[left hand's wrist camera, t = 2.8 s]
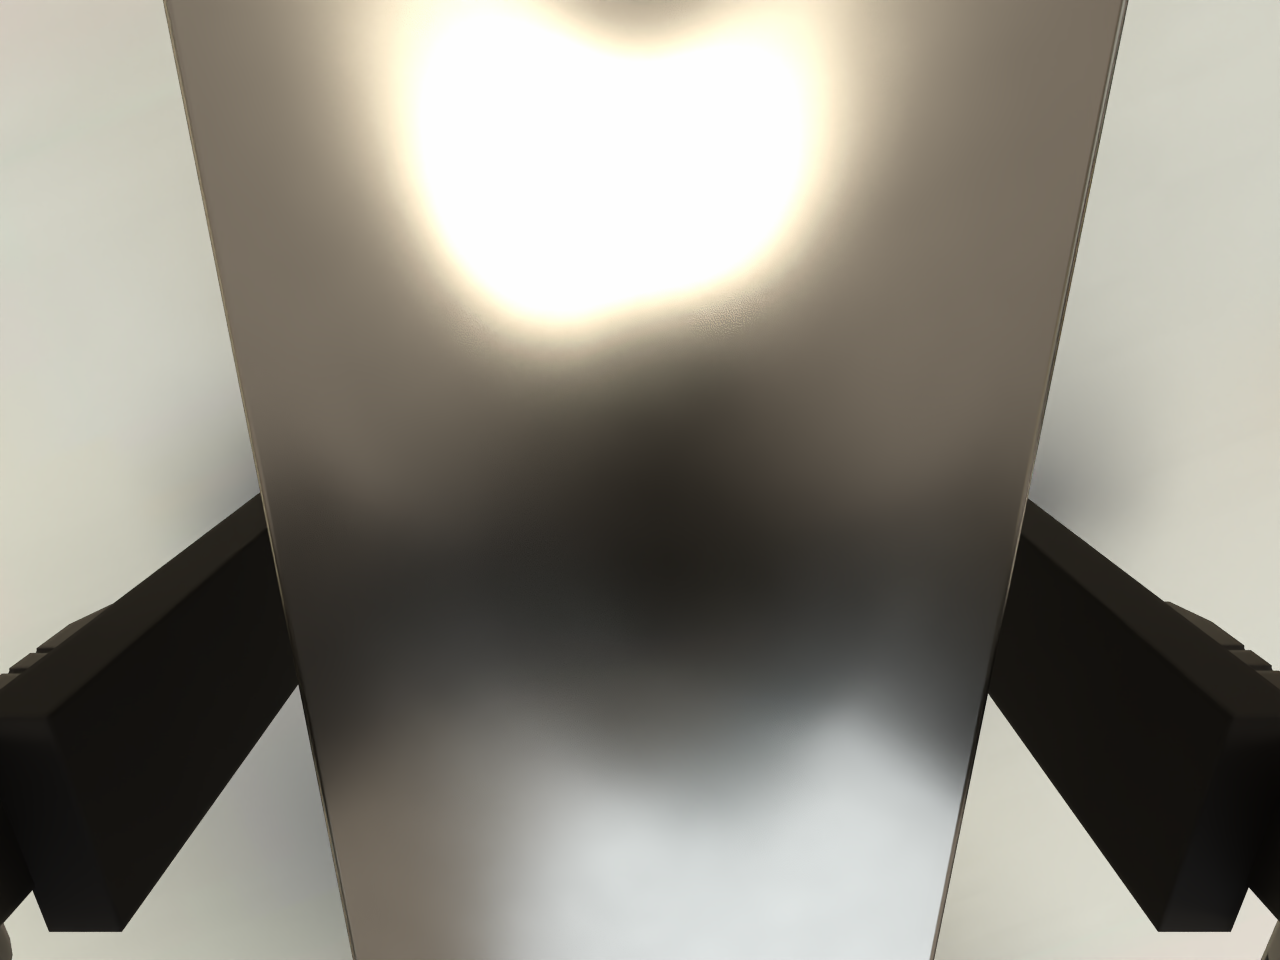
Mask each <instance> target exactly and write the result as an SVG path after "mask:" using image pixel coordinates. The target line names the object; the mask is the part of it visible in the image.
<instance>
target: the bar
mask: <svg viewBox="0 0 1280 960" xmlns="http://www.w3.org/2000/svg"><path fill="white" fill-rule="evenodd" d="M163 3H164V8H165V13H166V18H167V23H168V28H169V33H170V38H171V43H172V48H173V53H174V58H175V64H176V69H177V74H178V79H179V84H180V89H181V94H182V99H183V104H184V109H185V114H186V119H187V124H188V129H189V134H190V139H191V144H192V149H193V154H194V159H195V165H196V170H197V175H198V180H199V185H200V190H201V195H202V200H203V205H204V210H205V215H206V220H207V225H208V230H209V235H210V240H211V245H212V250H213V255H214V260H215V265H216V271H217V276H218V281H219V286H220V291H221V296H222V301H223V306H224V311H225V316H226V321H227V326H228V331H229V336H230V341H231V346H232V351H233V356H234V361H235V366H236V372H237V377H238V382H239V387H240V392H241V397H242V402H243V407H244V412H245V417H246V422H247V427H248V432H249V437H250V442H251V447H252V452H253V457H254V462H255V467H256V473H257V478H258V483H259V488H260V493H261V498H262V503H263V508H264V513H265V518H266V523H267V528H268V533H269V538H270V543H271V548H272V553H273V558H274V563H275V568H276V573H277V579H278V584H279V589H280V594H281V599H282V604H283V609H284V614H285V619H286V624H287V629H288V634H289V639H290V644H291V649H292V654H293V659H294V664H295V669H296V674H297V680H298V685H299V690H300V695H301V700H302V705H303V710H304V715H305V720H306V725H307V730H308V735H309V740H310V745H311V750H312V755H313V760H314V765H315V770H316V775H317V780H318V786H319V791H320V796H321V801H322V806H323V811H324V816H325V821H326V826H327V831H328V836H329V841H330V846H331V851H332V856H333V861H334V866H335V871H336V876H337V881H338V887H339V892H340V897H341V902H342V907H343V912H344V917H345V922H346V927H347V932H348V937H349V942H350V947H351V952H352V957H353V960H934V957H935V952H936V947H937V942H938V937H939V932H940V927H941V922H942V918H943V913H944V908H945V903H946V898H947V893H948V888H949V883H950V878H951V873H952V868H953V863H954V858H955V853H956V848H957V844H958V839H959V834H960V829H961V824H962V819H963V814H964V809H965V804H966V799H967V794H968V789H969V784H970V779H971V775H972V770H973V765H974V760H975V755H976V750H977V745H978V740H979V735H980V730H981V725H982V720H983V715H984V710H985V705H986V701H987V696H988V691H989V686H990V681H991V676H992V671H993V666H994V661H995V656H996V651H997V646H998V641H999V636H1000V632H1001V627H1002V622H1003V617H1004V612H1005V607H1006V602H1007V597H1008V592H1009V587H1010V582H1011V577H1012V572H1013V567H1014V562H1015V558H1016V553H1017V548H1018V543H1019V538H1020V533H1021V528H1022V523H1023V518H1024V513H1025V508H1026V503H1027V498H1028V493H1029V488H1030V484H1031V479H1032V474H1033V469H1034V464H1035V459H1036V454H1037V449H1038V444H1039V439H1040V434H1041V429H1042V424H1043V419H1044V415H1045V410H1046V405H1047V400H1048V395H1049V390H1050V385H1051V380H1052V375H1053V370H1054V365H1055V360H1056V355H1057V350H1058V345H1059V341H1060V336H1061V331H1062V326H1063V321H1064V316H1065V311H1066V306H1067V301H1068V296H1069V291H1070V286H1071V281H1072V276H1073V271H1074V267H1075V262H1076V257H1077V252H1078V247H1079V242H1080V237H1081V232H1082V227H1083V222H1084V217H1085V212H1086V207H1087V202H1088V198H1089V193H1090V188H1091V183H1092V178H1093V173H1094V168H1095V163H1096V158H1097V153H1098V148H1099V143H1100V138H1101V133H1102V128H1103V124H1104V119H1105V114H1106V109H1107V104H1108V99H1109V94H1110V89H1111V84H1112V79H1113V74H1114V69H1115V64H1116V59H1117V54H1118V50H1119V45H1120V40H1121V35H1122V30H1123V25H1124V20H1125V15H1126V10H1127V5H1128V0H163Z"/></svg>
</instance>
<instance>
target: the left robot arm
mask: <svg viewBox="0 0 1280 960" xmlns="http://www.w3.org/2000/svg"><path fill="white" fill-rule="evenodd" d="M9 670H10V671H9V673H8V674H1V675H0V960H12V948H11V942H10V937H9V935H8V933H7V930H6V928H5V926H4V922H5V920H6V919H7V918H8V917H9V916H10V915H11V914H12V913H13V911H14V910H15V909H16V908H17V907H18V906H19V905H20V904H21V902H22V901H23V900H24V899H25V898H26V897H27V896H28V895H29V893H30V892H31V891H32V890H33V893H34V895H35V898H36V900H37V903H38V905H39V908H40V910H41V913H42V915H43V918H44V920H45V923H46V925H47V928H48V930H49V932H122V931H123V929H124V928H125V927H126V925H127V924H128V922H129V921H130V920H131V918H132V917H133V915H134V914H135V913H136V911H137V910H138V908H139V907H140V906H141V904H142V903H143V901H144V900H145V899H146V897H147V896H148V894H149V893H150V892H151V890H152V889H153V887H154V886H155V884H156V883H157V882H158V880H159V879H160V877H161V876H162V875H163V873H164V872H165V870H166V869H167V868H168V866H169V865H170V863H171V862H172V861H173V859H174V858H175V856H176V855H177V854H178V852H179V851H180V849H181V848H182V847H183V845H184V844H185V842H186V841H187V840H188V838H189V837H190V835H191V834H192V833H193V831H194V830H195V828H196V827H197V826H198V824H199V823H200V821H201V820H202V819H203V817H204V816H205V814H206V813H207V812H208V810H209V809H210V807H211V806H212V805H213V803H214V802H215V800H216V799H217V798H218V796H219V795H220V793H221V792H222V790H223V789H224V788H225V786H226V785H227V783H228V782H229V781H230V779H231V778H232V776H233V775H234V774H235V772H236V771H237V769H238V768H239V767H240V765H241V764H242V762H243V761H244V760H245V758H246V757H247V755H248V754H249V753H250V751H251V750H252V748H253V747H254V746H255V744H256V743H257V741H258V740H259V739H260V737H261V736H262V734H263V733H264V732H265V730H266V729H267V727H268V726H269V725H270V723H271V722H272V720H273V719H274V718H275V716H276V715H277V713H278V712H279V711H280V709H281V708H282V706H283V705H284V704H285V702H286V701H287V699H288V698H289V697H290V695H291V694H292V692H293V691H294V689H295V688H296V687H297V685H298V680H297V674H296V669H295V664H294V659H293V654H292V649H291V644H290V639H289V634H288V629H287V624H286V619H285V614H284V609H283V604H282V599H281V594H280V589H279V584H278V579H277V573H276V568H275V563H274V558H273V553H272V548H271V543H270V538H269V533H268V528H267V523H266V518H265V513H264V508H263V503H262V498H261V493H259V494H257V495H256V496H255V497H253V498H252V499H251V500H249V501H248V502H247V503H246V504H244V505H243V506H242V507H240V508H239V509H238V510H236V511H235V512H234V513H232V514H231V515H230V516H228V517H227V518H226V519H224V520H223V521H222V522H220V523H219V524H218V525H216V526H215V527H214V528H212V529H211V530H210V531H209V532H207V533H206V534H205V535H203V536H202V537H201V538H199V539H198V540H197V541H195V542H194V543H193V544H191V545H190V546H189V547H187V548H186V549H185V550H183V551H182V552H181V553H179V554H178V555H177V556H176V557H174V558H173V559H172V560H170V561H169V562H168V563H166V564H165V565H164V566H162V567H161V568H160V569H158V570H157V571H156V572H154V573H153V574H152V575H150V576H149V577H148V578H146V579H145V580H144V581H142V582H141V583H140V584H139V585H137V586H136V587H135V588H133V589H132V590H131V591H129V592H128V593H127V594H125V595H124V596H123V597H121V598H120V599H119V600H117V601H116V602H115V603H113V604H111V605H109V606H107V607H105V608H103V609H101V610H99V611H96V612H94V613H92V614H90V615H88V616H86V617H84V618H82V619H80V620H77V621H75V622H73V623H71V624H69V625H68V626H66V627H65V628H64V629H62V630H61V631H60V632H58V633H57V634H56V635H54V636H53V637H51V638H50V639H49V640H47V641H46V642H45V643H43V644H42V645H41V646H39V647H38V648H37V652H36V653H30V654H28V655H27V656H26V657H24V658H23V659H21V660H20V661H19V662H17V663H16V664H15V665H13V666H12V667H11V668H9ZM988 694H989V695H990V697H991V698H992V699H993V701H994V702H995V704H996V705H997V706H998V708H999V709H1000V711H1001V712H1002V713H1003V715H1004V716H1005V718H1006V719H1007V720H1008V722H1009V723H1010V725H1011V726H1012V727H1013V729H1014V730H1015V732H1016V733H1017V734H1018V736H1019V737H1020V739H1021V740H1022V741H1023V743H1024V744H1025V746H1026V747H1027V748H1028V750H1029V751H1030V753H1031V754H1032V755H1033V757H1034V758H1035V760H1036V761H1037V762H1038V764H1039V765H1040V767H1041V768H1042V769H1043V771H1044V772H1045V774H1046V775H1047V776H1048V778H1049V779H1050V781H1051V782H1052V784H1053V785H1054V786H1055V788H1056V789H1057V791H1058V792H1059V793H1060V795H1061V796H1062V798H1063V799H1064V800H1065V802H1066V803H1067V805H1068V806H1069V807H1070V809H1071V810H1072V812H1073V813H1074V814H1075V816H1076V817H1077V819H1078V820H1079V821H1080V823H1081V824H1082V826H1083V827H1084V828H1085V830H1086V831H1087V833H1088V834H1089V835H1090V837H1091V838H1092V840H1093V841H1094V842H1095V844H1096V845H1097V847H1098V848H1099V849H1100V851H1101V852H1102V854H1103V855H1104V856H1105V858H1106V859H1107V861H1108V862H1109V863H1110V865H1111V866H1112V868H1113V869H1114V870H1115V872H1116V873H1117V875H1118V876H1119V877H1120V879H1121V880H1122V882H1123V883H1124V885H1125V886H1126V887H1127V889H1128V890H1129V892H1130V893H1131V894H1132V896H1133V897H1134V899H1135V900H1136V901H1137V903H1138V904H1139V906H1140V907H1141V908H1142V910H1143V911H1144V913H1145V914H1146V915H1147V917H1148V918H1149V920H1150V921H1151V922H1152V924H1153V925H1154V927H1155V928H1156V929H1157V931H1158V932H1231V930H1232V928H1233V925H1234V923H1235V920H1236V918H1237V915H1238V913H1239V910H1240V908H1241V905H1242V903H1243V900H1244V898H1245V895H1246V893H1247V890H1248V888H1250V889H1251V890H1252V891H1253V892H1254V894H1255V895H1256V896H1257V897H1258V898H1259V899H1260V900H1261V901H1262V903H1263V904H1264V905H1265V906H1266V907H1267V908H1268V909H1269V910H1270V912H1271V913H1272V914H1273V915H1274V916H1275V917H1276V918H1277V919H1278V921H1277V923H1276V926H1275V928H1274V930H1273V933H1272V935H1271V937H1270V940H1269V942H1268V944H1267V947H1266V949H1265V951H1264V954H1263V956H1262V958H1261V960H1280V671H1273V670H1272V665H1270V664H1269V663H1268V662H1266V661H1265V660H1263V659H1262V658H1261V657H1259V656H1258V655H1257V654H1255V653H1254V652H1253V651H1251V650H1245V649H1244V645H1243V644H1242V643H1240V642H1239V641H1237V640H1236V639H1235V638H1233V637H1232V636H1231V635H1229V634H1228V633H1226V632H1225V631H1224V630H1222V629H1221V628H1220V627H1218V626H1217V625H1215V624H1214V623H1213V622H1211V621H1209V620H1207V619H1205V618H1203V617H1201V616H1198V615H1196V614H1194V613H1192V612H1190V611H1188V610H1186V609H1184V608H1182V607H1179V606H1177V605H1175V604H1173V603H1171V602H1164V601H1163V600H1161V599H1160V598H1159V597H1157V596H1156V595H1155V594H1153V593H1152V592H1151V591H1149V590H1148V589H1147V588H1145V587H1144V586H1143V585H1141V584H1140V583H1139V582H1137V581H1136V580H1135V579H1134V578H1132V577H1131V576H1130V575H1128V574H1127V573H1126V572H1124V571H1123V570H1122V569H1120V568H1119V567H1118V566H1116V565H1115V564H1114V563H1112V562H1111V561H1110V560H1108V559H1107V558H1106V557H1104V556H1103V555H1102V554H1101V553H1099V552H1098V551H1097V550H1095V549H1094V548H1093V547H1091V546H1090V545H1089V544H1087V543H1086V542H1085V541H1083V540H1082V539H1081V538H1079V537H1078V536H1077V535H1075V534H1074V533H1073V532H1071V531H1070V530H1069V529H1067V528H1066V527H1065V526H1064V525H1062V524H1061V523H1060V522H1058V521H1057V520H1056V519H1054V518H1053V517H1052V516H1050V515H1049V514H1048V513H1046V512H1045V511H1044V510H1042V509H1041V508H1040V507H1038V506H1037V505H1036V504H1034V503H1033V502H1032V501H1031V500H1029V499H1028V498H1027V503H1026V508H1025V513H1024V518H1023V523H1022V528H1021V533H1020V538H1019V543H1018V548H1017V553H1016V558H1015V562H1014V567H1013V572H1012V577H1011V582H1010V587H1009V592H1008V597H1007V602H1006V607H1005V612H1004V617H1003V622H1002V627H1001V632H1000V636H999V641H998V646H997V651H996V656H995V661H994V666H993V671H992V676H991V681H990V686H989V691H988Z"/></svg>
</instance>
